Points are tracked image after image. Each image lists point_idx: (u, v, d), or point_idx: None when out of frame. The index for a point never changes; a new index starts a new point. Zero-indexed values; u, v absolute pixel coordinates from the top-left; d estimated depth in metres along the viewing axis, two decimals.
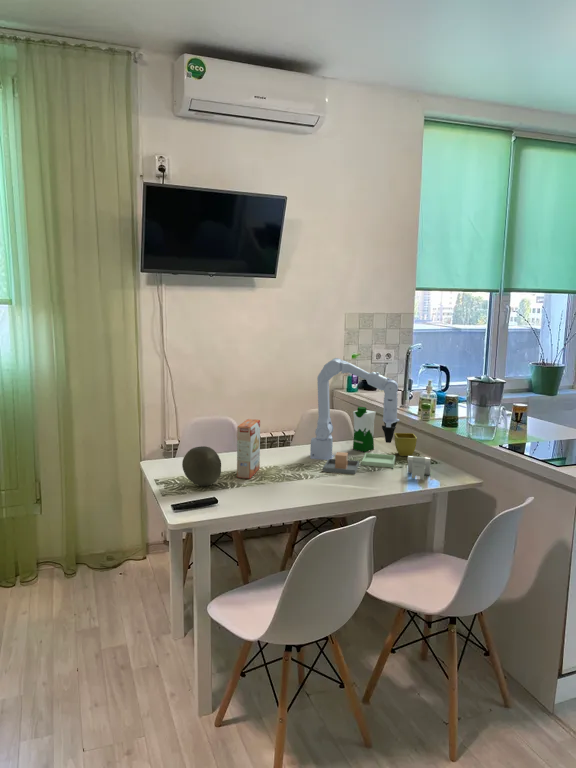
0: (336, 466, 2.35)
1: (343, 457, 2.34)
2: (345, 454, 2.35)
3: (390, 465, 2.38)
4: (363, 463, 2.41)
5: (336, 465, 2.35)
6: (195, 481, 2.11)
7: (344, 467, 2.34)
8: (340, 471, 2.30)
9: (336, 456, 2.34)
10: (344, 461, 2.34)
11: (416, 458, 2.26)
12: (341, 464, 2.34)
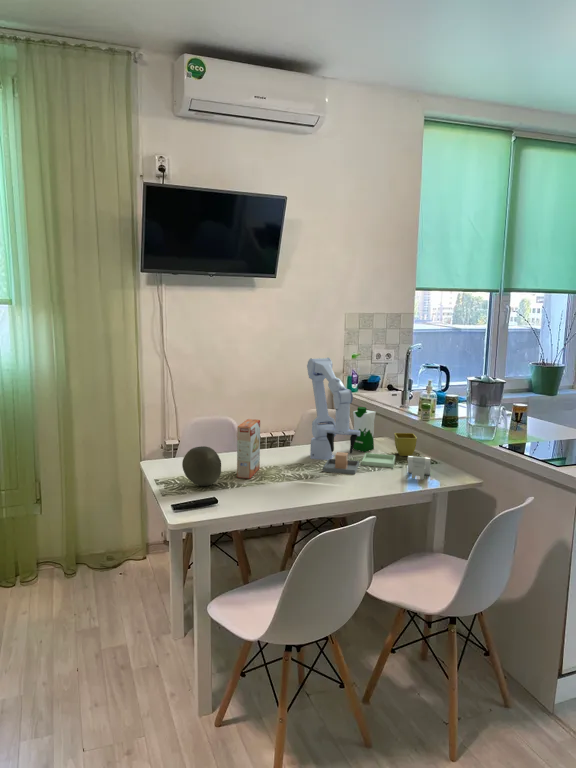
0: (336, 466, 2.35)
1: (343, 457, 2.34)
2: (345, 454, 2.35)
3: (390, 465, 2.38)
4: (363, 463, 2.41)
5: (336, 465, 2.35)
6: (195, 481, 2.11)
7: (344, 467, 2.34)
8: (340, 471, 2.30)
9: (336, 456, 2.34)
10: (344, 461, 2.34)
11: (416, 458, 2.26)
12: (341, 464, 2.34)
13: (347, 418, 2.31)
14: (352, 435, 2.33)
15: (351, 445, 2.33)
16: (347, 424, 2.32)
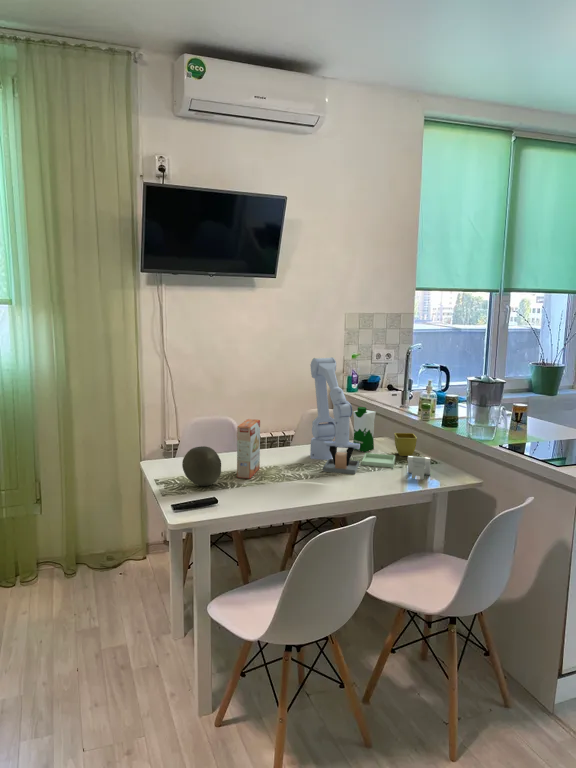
0: (336, 466, 2.35)
1: (343, 457, 2.34)
2: (345, 454, 2.35)
3: (390, 465, 2.38)
4: (363, 463, 2.41)
5: (336, 465, 2.35)
6: (195, 481, 2.11)
7: (344, 467, 2.34)
8: (340, 471, 2.30)
9: (336, 456, 2.34)
10: (344, 461, 2.34)
11: (416, 458, 2.26)
12: (341, 464, 2.34)
13: (347, 431, 2.32)
14: (348, 448, 2.34)
15: (347, 458, 2.34)
16: (347, 437, 2.33)
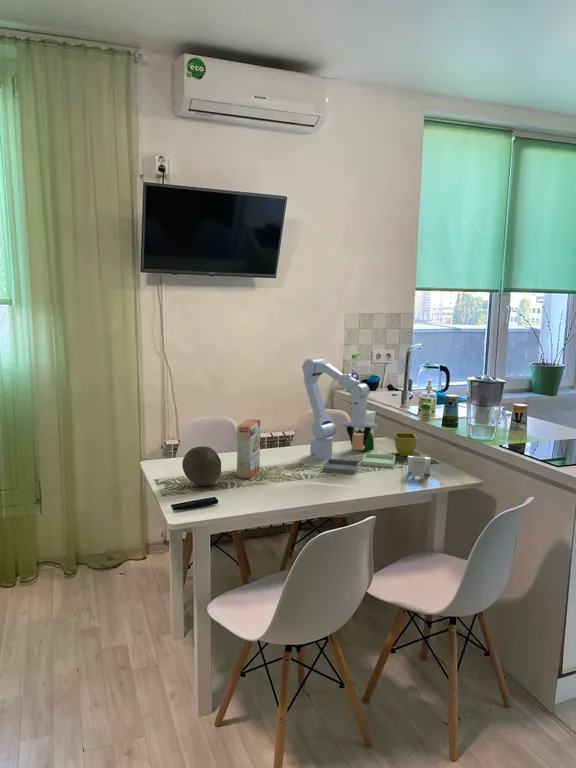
0: (353, 446, 2.37)
1: (360, 437, 2.36)
2: (362, 434, 2.38)
3: (390, 465, 2.38)
4: (363, 463, 2.41)
5: (353, 445, 2.37)
6: (195, 481, 2.11)
7: (361, 447, 2.37)
8: (340, 471, 2.30)
9: (353, 436, 2.37)
10: (361, 441, 2.36)
11: (416, 458, 2.26)
12: (358, 444, 2.37)
13: (365, 411, 2.36)
14: (365, 428, 2.36)
15: (365, 438, 2.36)
16: (364, 417, 2.35)
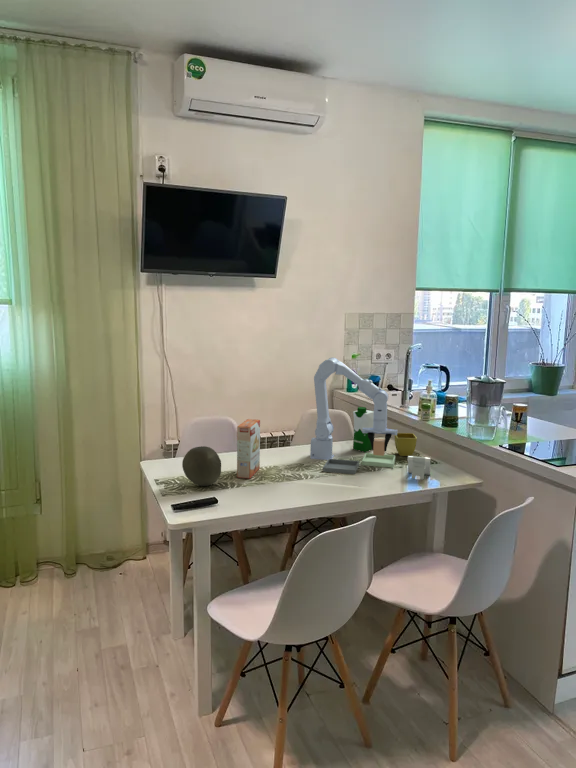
0: (374, 452, 2.43)
1: (381, 443, 2.42)
2: (383, 440, 2.43)
3: (390, 465, 2.38)
4: (363, 463, 2.41)
5: (374, 451, 2.43)
6: (195, 481, 2.11)
7: (382, 453, 2.42)
8: (340, 471, 2.30)
9: (374, 442, 2.43)
10: (382, 447, 2.42)
11: (416, 458, 2.26)
12: (379, 450, 2.42)
13: None
14: (386, 434, 2.42)
15: (385, 444, 2.42)
16: (385, 424, 2.41)
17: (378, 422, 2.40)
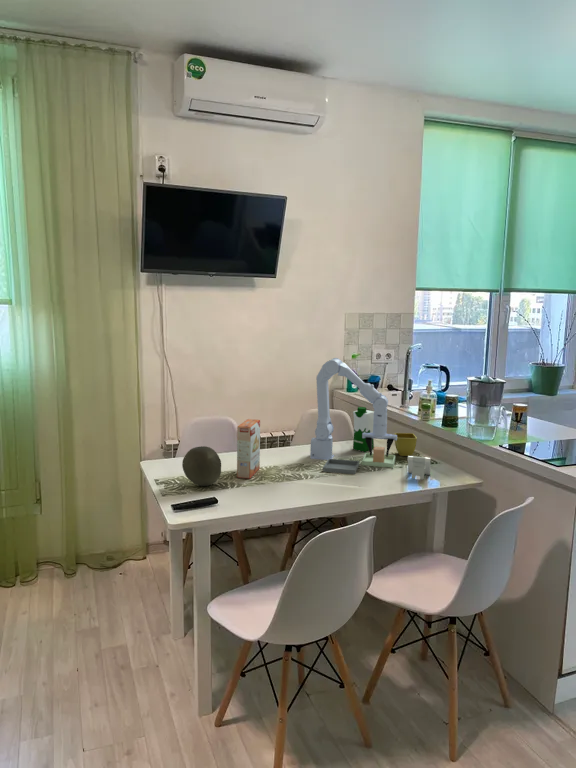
0: (374, 460, 2.44)
1: (381, 451, 2.42)
2: (382, 448, 2.44)
3: (390, 465, 2.38)
4: (363, 463, 2.41)
5: (374, 459, 2.44)
6: (195, 481, 2.11)
7: (382, 461, 2.43)
8: (340, 471, 2.30)
9: (374, 450, 2.43)
10: (382, 455, 2.43)
11: (416, 458, 2.26)
12: (379, 458, 2.43)
13: None
14: (388, 439, 2.42)
15: (387, 449, 2.42)
16: (385, 429, 2.41)
17: (378, 427, 2.41)
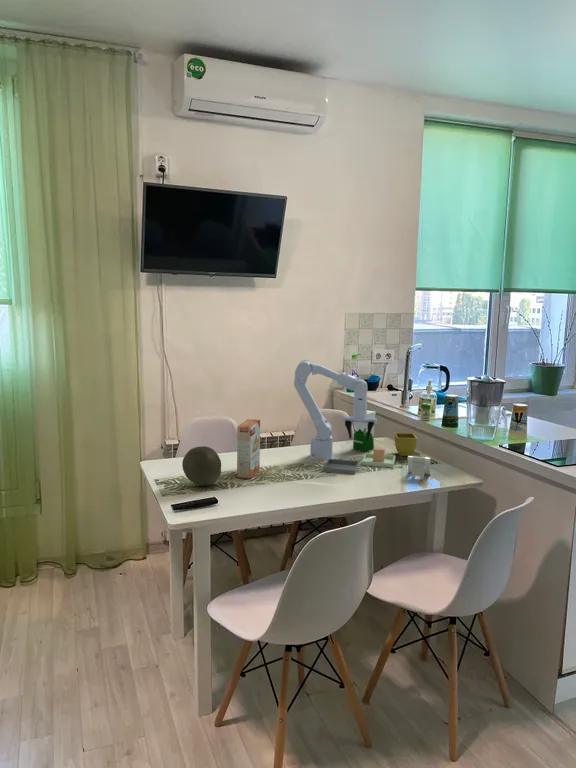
0: (374, 460, 2.44)
1: (381, 451, 2.42)
2: (382, 448, 2.44)
3: (390, 465, 2.38)
4: (363, 463, 2.41)
5: (374, 459, 2.44)
6: (195, 481, 2.11)
7: (382, 461, 2.43)
8: (340, 471, 2.30)
9: (374, 450, 2.43)
10: (382, 455, 2.43)
11: (416, 458, 2.26)
12: (379, 458, 2.43)
13: None
14: (369, 423, 2.46)
15: (368, 432, 2.46)
16: (364, 412, 2.45)
17: (358, 411, 2.45)
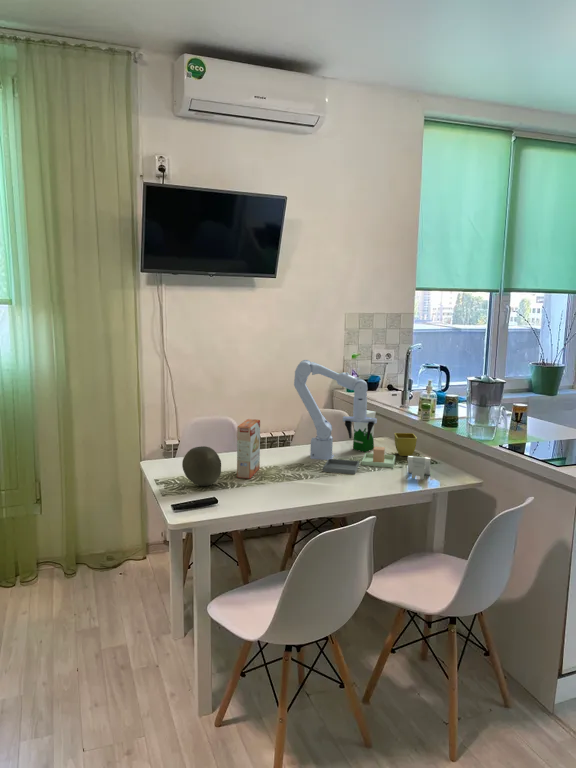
0: (374, 460, 2.44)
1: (381, 451, 2.42)
2: (382, 448, 2.44)
3: (390, 465, 2.38)
4: (363, 463, 2.41)
5: (374, 459, 2.44)
6: (195, 481, 2.11)
7: (382, 461, 2.43)
8: (340, 471, 2.30)
9: (374, 450, 2.43)
10: (382, 455, 2.43)
11: (416, 458, 2.26)
12: (379, 458, 2.43)
13: None
14: (369, 422, 2.46)
15: (368, 432, 2.46)
16: (364, 412, 2.46)
17: (358, 410, 2.45)
